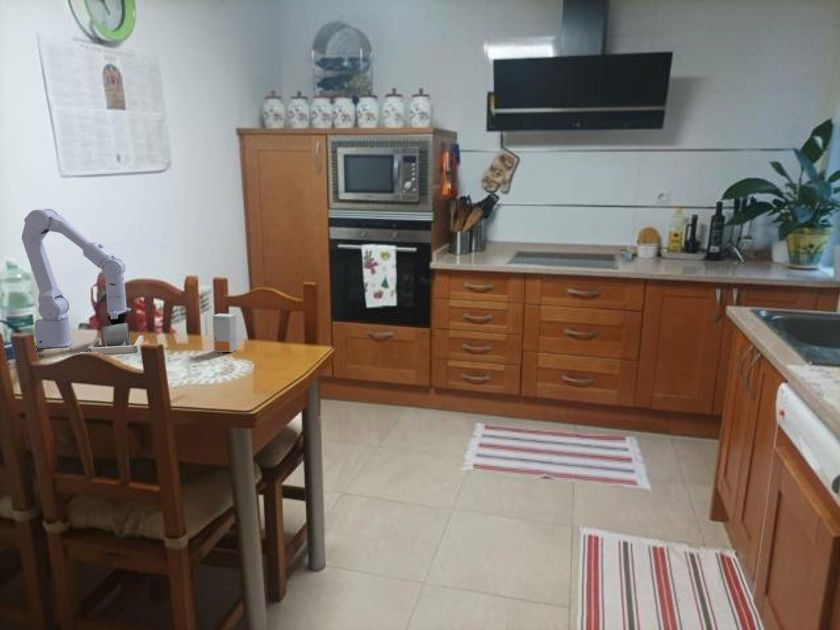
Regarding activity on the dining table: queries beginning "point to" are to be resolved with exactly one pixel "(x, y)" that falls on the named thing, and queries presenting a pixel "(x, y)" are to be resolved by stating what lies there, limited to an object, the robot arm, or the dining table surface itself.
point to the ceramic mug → (115, 335)
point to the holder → (115, 347)
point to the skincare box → (224, 332)
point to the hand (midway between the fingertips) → (119, 336)
